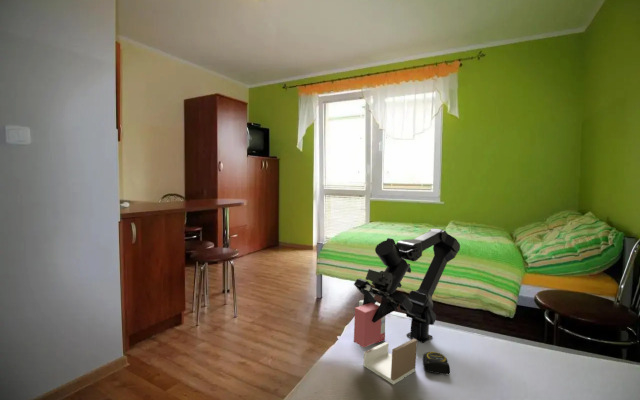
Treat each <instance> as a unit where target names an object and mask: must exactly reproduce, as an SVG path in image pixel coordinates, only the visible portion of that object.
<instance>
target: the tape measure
mask: <svg viewBox="0 0 640 400" xmlns="http://www.w3.org/2000/svg"><path fill="white" fill-rule="evenodd" d="M422 365H423V368H424V370H425V371H426V372H429V373H433V374H435V373H436V374H441V375H442V374H443V375H450V374H451V369H450V367H451V366H450V363H448V359H447V357H446V356H445V355H444V354H442V353H440V352H437V351H428V352H425V353H424V354H423V357H422Z"/></svg>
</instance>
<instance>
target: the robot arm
mask: <svg viewBox="0 0 640 400" xmlns="http://www.w3.org/2000/svg"><path fill="white" fill-rule="evenodd" d="M431 247H432V249H433V255H434V256H433V257H432V259H431V262H430V264H429V266H428V268H427V270H426V273H425V275H424V277H423V279H422V281H421V283H420V285H419V288H418V289H417V290H416V289H415V290H413V289H412V290H411V291H410V292H409V294H408V295H406V294H404V293H401V292H399V291H397V289H398V288H399V289H401V288H402V283H401V282H402V280H403V278H404V277H405V275H406V273H409V274H410V273H412V268H411V263H408V262H407V261H410V262H417V261H418V260H419V259H420V258H421V257H422V256H423V252H424V251H425V250H428V249H429V248H431ZM460 249H461V244H460V242H459V241H458V240H457V238H456V237H454V236H452V235H450V234H449V233H447V231H446V230H444V229H441V228H431V229H430V230H428V231H427V232H425V233H423V234H421V235H419V236H417V237H415V238H411V239H410V238H409V239H401V240H398V241H397V242H395V239H393V238H389V237H388V238H386V240H383V241H380V242H379V243H378V244H377V245H376V246H375V249H374V250H375V251H374V252H375V253H376V256H378V258H379V259H380V261H381V262H382V264H383V265H384V266H385V269H384V270H381V271H376V270H373V269H369V268H368V270H367V273H366V275H365V276H366V277H365V279H362V278H356V280H355V282H354V283H353V285H354V286H355V287H356V288H357V290H358V291H359V293H360V294H361V295H363V300H364V301H363V305H365V304H368V303H371V302H372V303H374V304H375V303H376V302H377V303H378V301H377V300H376V299H375V296H377V297H380V298H381V301H380V306H379V308H378V309H377V311H376V313H375V315H374V317H373V319H372V322H374V323H375V322H376V321H378V320H379V319H381V318H383V317H384V316H385V317H386V316H388V315H389V314H391V313H393V312H398V310H399V309H398V307H399V308H400V310H401V311H403V312H404V313H405V316H406V317H407V318H409V319H411V324H410V331H409V332H408V333H407V334H406V336H407V337H409V338H411V339H416V340H417V342H419V343H422V344H423V343H425V342H427V341H430V340H431V339H433V335H431V334H429V331H430V325H432V326H433V325H435V323H436V319H437V315H436V313H435V312H434V310H433V307H434V302H433V295H434V293H435V291H436V288H437V286H438V284H439V282H440V280H441V277H442V275H443V273H444V270H445V268H446V267H447V265H448V264H447V263H449V262H450V261H452V260H453V259H455V258H456V257H457V254H458V253H459V251H460ZM369 281H370V282H371V283H370V282H369ZM371 284H372V285H371ZM373 286H374V287H373Z"/></svg>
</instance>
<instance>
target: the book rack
mask: <svg viewBox="0 0 640 400" xmlns="http://www.w3.org/2000/svg"><path fill="white" fill-rule="evenodd" d="M417 346H418V341H417V340H416V339H413V338H411V339H410V340H408V341H406V342H404V343H402V344H400V345H398V346H395V348H392V350H391V353H389V342H387V341H385V342H383V343H380V344H378V345H376V346H374V347H372V348H370V349H368V350H366V351H364V352H363V367H365V368H367V369H368V370H370V371H371V372H373V373H374V374H376V375H378V376H379V377H381V378H382V379H384V380H385V381H388V382H389V383H391V384H392V385H395V384H396V383H397V384H398V382H400V381H402V380H403V379H405V378H407V377H408V376H409V374H410V373H411V374H413V373H414V372H416V362H417V361H416V360H417ZM412 372H413V373H412ZM411 374H410V375H411ZM407 375H408V376H407ZM404 377H405V378H404Z"/></svg>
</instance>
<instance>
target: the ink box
mask: <svg viewBox="0 0 640 400" xmlns="http://www.w3.org/2000/svg"><path fill="white" fill-rule="evenodd" d="M363 301H364V299H362V300H361V299H360V300H359V302H358V307H359V306H362V305H363ZM375 304H376V305H379V306H380V304H381V302H380V303H379V302H378V301H377V302H376V303H375ZM385 339H386V316H384V317H383V318H381V340H380V341H378V342H375V343H374V344H378V343H381V342H383V341H385Z"/></svg>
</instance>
